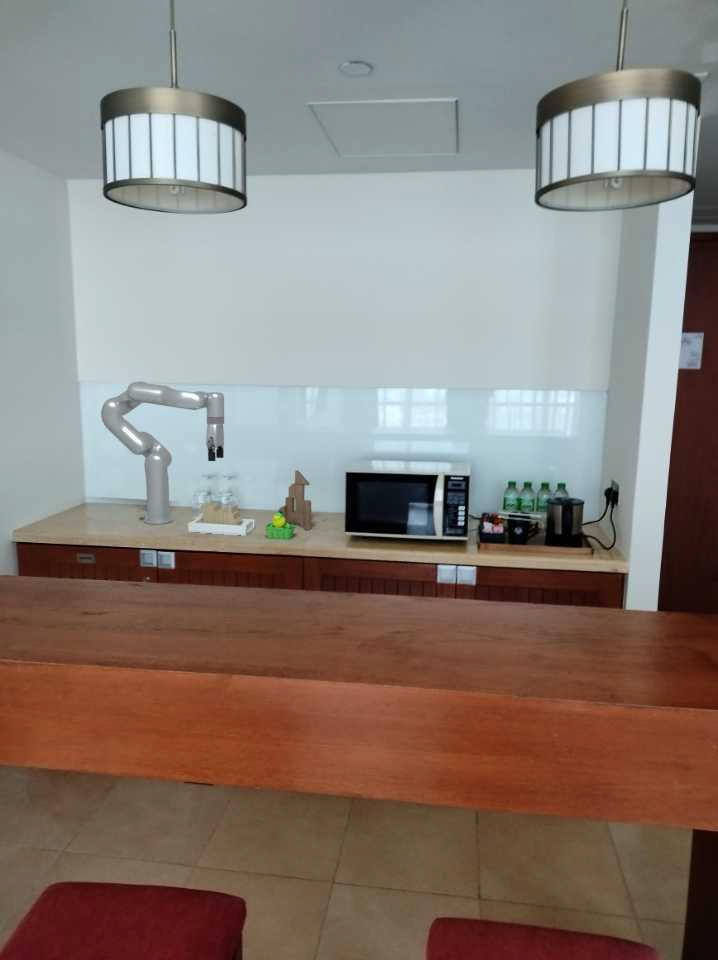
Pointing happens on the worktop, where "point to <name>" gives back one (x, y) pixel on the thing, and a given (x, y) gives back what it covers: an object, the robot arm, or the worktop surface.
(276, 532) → the fruit basket
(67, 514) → the worktop surface
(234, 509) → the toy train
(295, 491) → the wooden toy
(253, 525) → the white tray
